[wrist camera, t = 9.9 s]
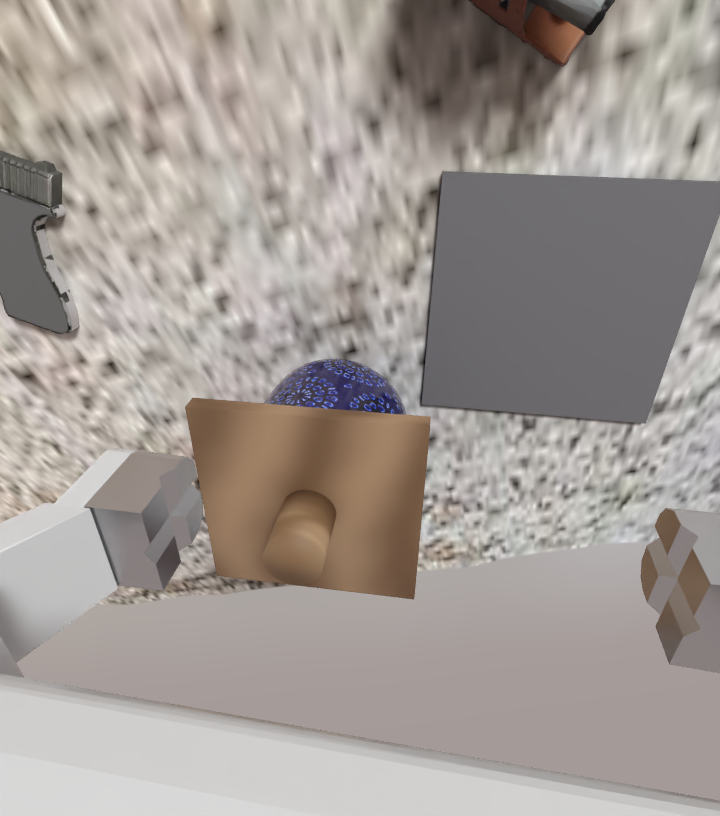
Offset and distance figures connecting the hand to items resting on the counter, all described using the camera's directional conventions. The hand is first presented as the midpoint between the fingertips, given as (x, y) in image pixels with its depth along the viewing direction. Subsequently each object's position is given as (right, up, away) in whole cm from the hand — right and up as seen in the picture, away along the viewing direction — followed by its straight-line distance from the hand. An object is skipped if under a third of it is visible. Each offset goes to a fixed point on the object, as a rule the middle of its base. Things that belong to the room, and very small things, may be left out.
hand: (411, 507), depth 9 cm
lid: (-4, -4, +22) cm, 23 cm away
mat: (+12, +8, +25) cm, 29 cm away
